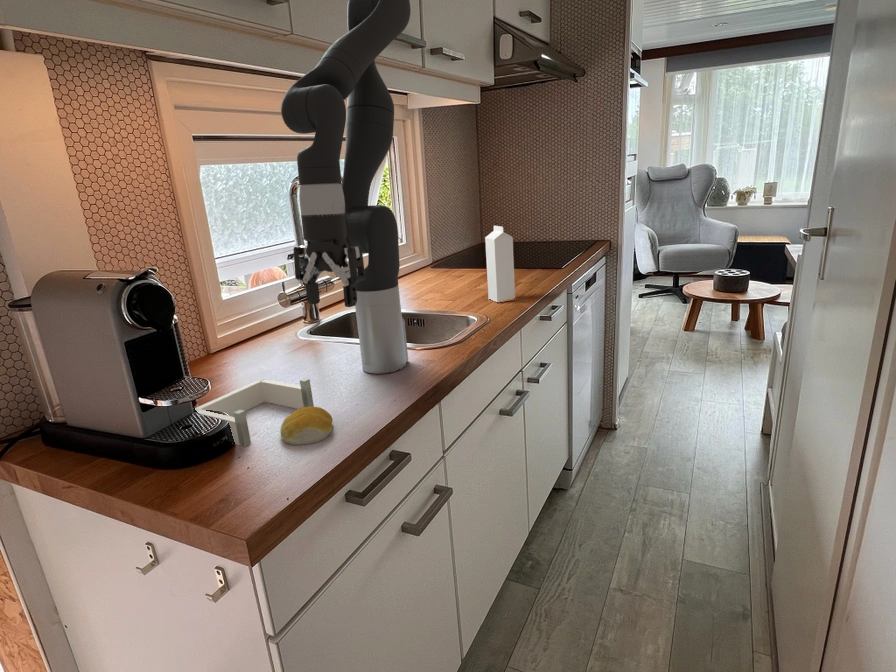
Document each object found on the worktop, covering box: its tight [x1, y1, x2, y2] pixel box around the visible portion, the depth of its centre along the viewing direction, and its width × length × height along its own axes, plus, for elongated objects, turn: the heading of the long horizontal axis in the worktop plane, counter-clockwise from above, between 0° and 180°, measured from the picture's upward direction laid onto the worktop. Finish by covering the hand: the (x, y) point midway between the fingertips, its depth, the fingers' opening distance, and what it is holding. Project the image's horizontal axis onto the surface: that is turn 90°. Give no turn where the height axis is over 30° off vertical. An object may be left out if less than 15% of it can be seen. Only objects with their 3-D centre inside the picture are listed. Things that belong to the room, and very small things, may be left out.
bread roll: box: [279, 405, 334, 446], centre depth 91 cm, size 8×9×4 cm
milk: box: [484, 225, 516, 302], centre depth 165 cm, size 6×6×22 cm
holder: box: [194, 377, 315, 447], centre depth 96 cm, size 15×13×6 cm
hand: (332, 305), depth 100 cm, fingers open, 8 cm apart
